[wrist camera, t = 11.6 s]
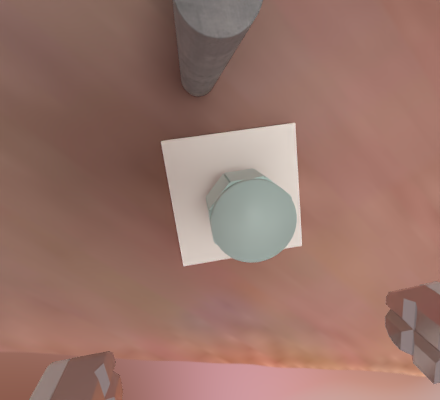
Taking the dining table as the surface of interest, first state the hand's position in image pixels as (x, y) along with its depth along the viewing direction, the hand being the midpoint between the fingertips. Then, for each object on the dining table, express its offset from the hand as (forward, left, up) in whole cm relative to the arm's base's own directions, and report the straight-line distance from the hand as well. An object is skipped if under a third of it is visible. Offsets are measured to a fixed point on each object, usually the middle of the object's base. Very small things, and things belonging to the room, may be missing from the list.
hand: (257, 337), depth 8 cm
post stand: (+1, +3, -22) cm, 22 cm away
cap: (+1, +3, -17) cm, 17 cm away
